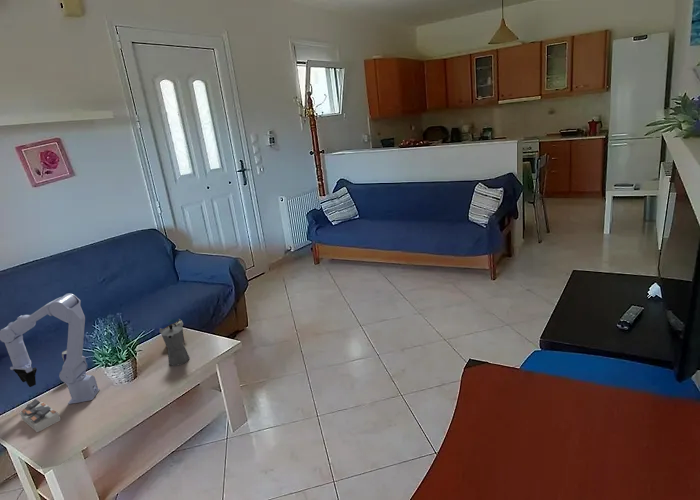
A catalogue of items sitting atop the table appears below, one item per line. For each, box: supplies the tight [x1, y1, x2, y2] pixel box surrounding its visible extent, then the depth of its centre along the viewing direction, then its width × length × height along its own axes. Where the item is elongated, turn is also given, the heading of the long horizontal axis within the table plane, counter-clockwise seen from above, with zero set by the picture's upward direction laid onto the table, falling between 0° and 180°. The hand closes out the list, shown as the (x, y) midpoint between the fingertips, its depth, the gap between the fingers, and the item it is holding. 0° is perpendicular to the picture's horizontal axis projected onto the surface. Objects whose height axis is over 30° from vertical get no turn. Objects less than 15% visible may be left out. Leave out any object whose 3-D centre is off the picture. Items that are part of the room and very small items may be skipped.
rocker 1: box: [20, 398, 41, 415], centre depth 175 cm, size 6×4×2 cm, turn 143°
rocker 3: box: [30, 407, 51, 423], centre depth 169 cm, size 6×4×2 cm, turn 143°
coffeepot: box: [160, 323, 191, 367], centre depth 205 cm, size 15×9×18 cm, turn 13°
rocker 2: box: [25, 406, 45, 416], centre depth 172 cm, size 6×4×2 cm, turn 143°
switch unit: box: [19, 401, 61, 433], centre depth 173 cm, size 8×16×3 cm, turn 53°
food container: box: [159, 318, 185, 340], centre depth 224 cm, size 12×6×10 cm, turn 147°
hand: (29, 383), depth 183 cm, fingers open, 7 cm apart
